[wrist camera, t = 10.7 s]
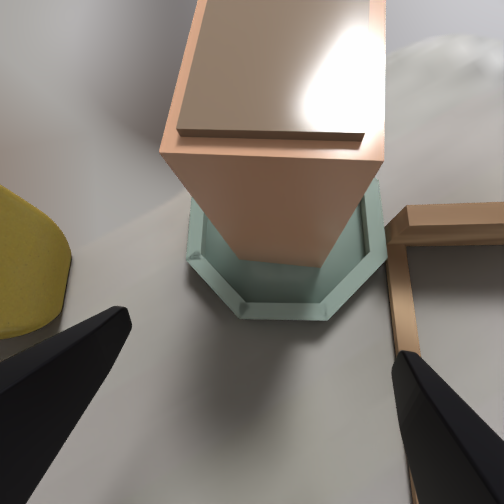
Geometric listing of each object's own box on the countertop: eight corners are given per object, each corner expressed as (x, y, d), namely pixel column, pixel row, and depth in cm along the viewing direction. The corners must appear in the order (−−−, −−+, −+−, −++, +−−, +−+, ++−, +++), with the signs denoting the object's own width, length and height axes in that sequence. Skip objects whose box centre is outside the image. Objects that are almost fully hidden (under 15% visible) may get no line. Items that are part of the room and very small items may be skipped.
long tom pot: (320, 267, 17) (388, 152, 6) (239, 259, 18) (153, 145, 7) (326, 192, 19) (389, -26, 7) (250, 187, 20) (194, -12, 8)
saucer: (385, 322, 17) (395, 322, 15) (189, 318, 18) (180, 317, 17) (366, 146, 20) (372, 132, 19) (202, 157, 22) (196, 144, 20)
